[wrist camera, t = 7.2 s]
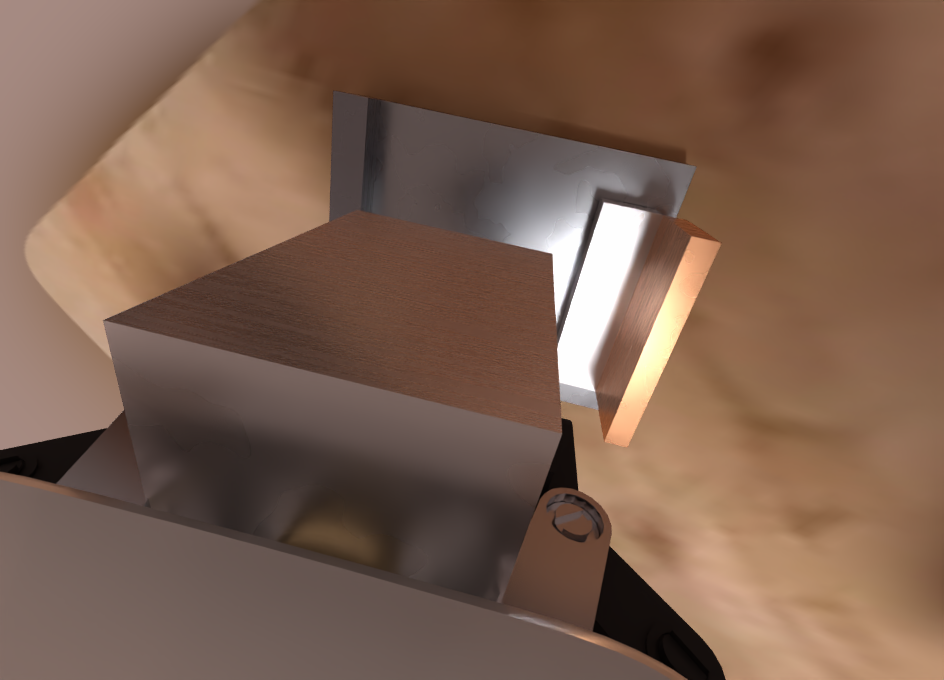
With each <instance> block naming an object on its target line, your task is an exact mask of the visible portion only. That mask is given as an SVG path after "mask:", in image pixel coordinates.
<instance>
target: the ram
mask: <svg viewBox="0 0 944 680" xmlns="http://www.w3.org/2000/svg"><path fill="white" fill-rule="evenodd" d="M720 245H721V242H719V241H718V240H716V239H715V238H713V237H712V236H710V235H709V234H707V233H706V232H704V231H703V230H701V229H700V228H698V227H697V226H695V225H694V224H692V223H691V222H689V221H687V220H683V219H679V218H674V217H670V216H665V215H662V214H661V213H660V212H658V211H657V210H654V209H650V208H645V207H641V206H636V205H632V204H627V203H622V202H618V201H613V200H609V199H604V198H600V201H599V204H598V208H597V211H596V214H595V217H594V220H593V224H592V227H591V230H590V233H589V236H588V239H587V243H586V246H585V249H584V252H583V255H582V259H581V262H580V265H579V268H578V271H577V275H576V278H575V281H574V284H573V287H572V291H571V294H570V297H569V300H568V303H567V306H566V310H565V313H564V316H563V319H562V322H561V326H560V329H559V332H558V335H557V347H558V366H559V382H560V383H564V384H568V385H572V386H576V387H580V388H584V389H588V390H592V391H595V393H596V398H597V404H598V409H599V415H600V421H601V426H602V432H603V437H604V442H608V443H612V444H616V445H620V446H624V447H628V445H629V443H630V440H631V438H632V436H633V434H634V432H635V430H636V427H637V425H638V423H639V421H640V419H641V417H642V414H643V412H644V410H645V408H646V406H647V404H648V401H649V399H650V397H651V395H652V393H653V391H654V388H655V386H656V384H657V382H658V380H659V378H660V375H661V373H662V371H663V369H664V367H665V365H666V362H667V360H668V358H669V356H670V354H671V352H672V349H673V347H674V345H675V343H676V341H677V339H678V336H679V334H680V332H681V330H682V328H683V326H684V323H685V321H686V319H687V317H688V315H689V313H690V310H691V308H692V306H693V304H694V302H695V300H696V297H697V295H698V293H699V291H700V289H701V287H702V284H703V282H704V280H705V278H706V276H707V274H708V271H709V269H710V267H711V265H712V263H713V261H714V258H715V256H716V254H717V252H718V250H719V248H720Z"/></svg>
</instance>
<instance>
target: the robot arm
mask: <svg viewBox="0 0 944 680" xmlns="http://www.w3.org/2000/svg"><path fill="white" fill-rule="evenodd" d="M561 422H562V436H561V438H560V441H559V444H558V447H557V449H556V452H555V455H554V458H553V460H552V463H551V466H550V469H549V471H548V474H547V477H546V480H545V482H544V485H543V488H542V491H541V494H540V496H539V499H538V502H537V505H536V507H535V510H534V513H533V516H532V518H531V521H530V524H529V527H528V529H527V532H526V535H525V538H524V540H523V543H522V546H521V549H520V551H519V554H518V557H517V560H516V562H515V565H514V568H513V571H512V573H511V576H510V579H509V582H508V584H507V587H506V590H505V593H504V594H502V593H500V595H499V597H498V599H497V602H495V601H492V600H488V599H485V598H481V597H478V596H474V595H470V594H467V593H463V592H460V591H456V590H452V589H449V588H445V587H441V586H438V585H434V584H431V583H427V582H423V581H420V580H416V579H412V578H409V577H405V576H402V575H398V574H394V573H391V572H387V571H383V570H380V569H376V568H373V567H369V566H365V565H362V564H358V563H354V562H351V561H347V560H343V559H340V558H336V557H332V556H328V555H325V554H321V553H317V552H314V551H310V550H306V549H303V548H299V547H295V546H291V545H288V544H284V543H280V542H277V541H273V540H269V539H265V538H262V537H258V536H254V535H251V534H247V533H243V532H239V531H236V530H232V529H228V528H224V527H221V526H217V525H213V524H209V523H206V522H202V521H198V520H194V519H190V518H187V517H183V516H179V515H175V514H172V513H168V512H164V511H160V510H156V509H153V508H151V506H150V502H149V498H146V497H145V494H144V490H143V486H142V482H141V477H140V473H139V469H138V465H137V461H136V456H135V452H134V448H133V444H132V440H131V435H130V431H129V427H128V423H127V419H126V415H125V410H124V411H123V412H122V413H121V414H120V415H119V416H118V417H117V418H116V419H115V420H114V421H113V422H112V424H111V425H110V426H109V427H108V428H106V429H101V430H96V431H91V432H86V433H81V434H76V435H72V436H67V437H62V438H57V439H52V440H47V441H43V442H38V443H33V444H28V445H23V446H19V447H14V448H9V449H4V450H0V680H726V679H725V676H724V673H723V670H722V667H721V665H720V663H719V662H718V660H717V658H716V656H715V655H714V653H713V651H712V650H711V649H710V648H709V646H708V645H707V644H706V643H705V642H704V640H703V639H702V638H701V637H700V636H699V635H698V634H697V633H696V632H695V631H694V630H693V629H692V628H691V627H690V626H689V625H688V624H687V623H686V622H685V621H684V620H683V619H682V618H681V617H680V616H679V615H678V614H677V613H676V612H675V611H674V610H673V609H672V608H671V607H670V606H669V605H668V604H667V603H666V602H665V601H664V600H663V599H662V598H661V597H660V596H659V595H658V594H657V593H656V592H655V591H654V590H653V589H652V588H651V587H650V586H649V585H648V584H647V583H646V582H645V581H644V580H643V579H642V578H641V577H640V576H639V575H638V574H637V573H636V572H635V571H634V570H633V569H632V568H631V567H630V566H629V565H628V564H627V563H626V562H625V561H624V560H623V559H622V558H621V557H620V556H619V555H618V554H617V553H616V552H615V551H614V550H613V549H612V548H611V547H610V546H609V545H610V540H611V535H612V529H611V523H610V520H609V517H608V515H607V514H606V512H605V511H604V509H603V508H602V507H601V506H600V505H599V504H598V503H597V502H596V501H595V500H594V499H593V498H591V497H589V496H588V495H586V494H584V493H583V492H580V491H578V481H577V470H576V459H575V448H574V437H573V426H572V422H571V421H570V420H567V419H563V418H561Z"/></svg>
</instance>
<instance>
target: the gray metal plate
mask: <svg viewBox="0 0 944 680" xmlns="http://www.w3.org/2000/svg"><path fill="white" fill-rule="evenodd" d="M695 169H696V166H692V165H688V164H683V163H679V162H674V161H669V160H664V159H660V158H655V157H650V156H645V155H641V154H636V153H631V152H626V151H622V150H617V149H612V148H608V147H603V146H598V145H593V144H589V143H584V142H579V141H574V140H570V139H565V138H560V137H555V136H551V135H546V134H541V133H536V132H532V131H527V130H522V129H518V128H513V127H508V126H503V125H499V124H494V123H489V122H484V121H480V120H475V119H470V118H465V117H461V116H456V115H451V114H446V113H442V112H437V111H432V110H428V109H423V108H418V107H413V106H409V105H404V104H399V103H394V102H390V101H385V100H380V99H375V98H371V97H366V96H361V95H356V94H350V93H345V92H339V91H333V121H332V154H331V186H330V218H329V222H330V221H332V220H335V219H337V218H339V217H342V216H344V215H346V214H349V213H351V212H353V211H355V210H361V211H365V212H369V213H374V214H378V215H383V216H387V217H392V218H396V219H401V220H405V221H409V222H414V223H418V224H423V225H427V226H432V227H436V228H440V229H445V230H449V231H454V232H458V233H463V234H467V235H472V236H476V237H480V238H485V239H489V240H494V241H498V242H503V243H507V244H511V245H516V246H520V247H525V248H529V249H534V250H538V251H542V252H547V253H551V254H552V255H553V273H554V292H555V310H556V329H557V335H558V332H559V329H560V326H561V322H562V319H563V316H564V313H565V310H566V306H567V303H568V300H569V297H570V294H571V291H572V287H573V284H574V281H575V278H576V275H577V271H578V268H579V265H580V262H581V259H582V255H583V252H584V249H585V246H586V243H587V239H588V236H589V233H590V230H591V227H592V224H593V220H594V217H595V214H596V211H597V208H598V204H599V201H600V198H604V199H609V200H613V201H618V202H622V203H627V204H632V205H636V206H641V207H645V208H650V209H654V210H657V211H658V212H660V213H661V214H662V215H665V216H670V217H674V218H676V217H677V214H678V212H679V209H680V207H681V204H682V202H683V199H684V197H685V194H686V192H687V189H688V187H689V184H690V182H691V179H692V177H693V174H694V172H695ZM559 385H560V401H564V402H568V403H572V404H576V405H581V406H585V407H589V408H593V409H597V410H599V409H598V404H597V398H596V393H595V391H592V390H588V389H584V388H580V387H576V386H572V385H568V384H564V383H560V382H559Z"/></svg>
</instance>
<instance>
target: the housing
mask: <svg viewBox="0 0 944 680" xmlns="http://www.w3.org/2000/svg"><path fill="white" fill-rule="evenodd" d="M103 322H104V327H105V331H106V335H107V339H108V343H109V347H110V352H111V356H112V360H113V364H114V368H115V373H116V376H117V381H118V385H119V389H120V394H121V398H122V402H123V406H124V410H125V415H126V419H127V423H128V427H129V431H130V435H131V440H132V444H133V448H134V452H135V456H136V461H137V465H138V469H139V473H140V477H141V482H142V486H143V490H144V494H145V497H146V498H149V502H150V506H151V508H153V509H156V510H160V511H164V512H168V513H172V514H175V515H179V516H183V517H187V518H190V519H194V520H198V521H202V522H206V523H209V524H213V525H217V526H221V527H224V528H228V529H232V530H236V531H239V532H243V533H247V534H251V535H254V536H258V537H262V538H265V539H269V540H273V541H277V542H280V543H284V544H288V545H291V546H295V547H299V548H303V549H306V550H310V551H314V552H317V553H321V554H325V555H328V556H332V557H336V558H340V559H343V560H347V561H351V562H354V563H358V564H362V565H365V566H369V567H373V568H376V569H380V570H383V571H387V572H391V573H394V574H398V575H402V576H405V577H409V578H412V579H416V580H420V581H423V582H427V583H431V584H434V585H438V586H441V587H445V588H449V589H452V590H456V591H460V592H463V593H467V594H470V595H474V596H478V597H481V598H485V599H488V600H492V601H495V602H497V599H498V597H499V595H500V593H502V594H504V593H505V590H506V587H507V584H508V582H509V579H510V576H511V573H512V571H513V568H514V565H515V562H516V560H517V557H518V554H519V551H520V549H521V546H522V543H523V540H524V538H525V535H526V532H527V529H528V527H529V524H530V521H531V518H532V516H533V513H534V510H535V507H536V505H537V502H538V499H539V496H540V494H541V491H542V488H543V485H544V482H545V480H546V477H547V474H548V471H549V469H550V466H551V463H552V460H553V458H554V455H555V452H556V449H557V447H558V444H559V441H560V438H561V436H562V422H561V403H560V385H559V366H558V347H557V329H556V310H555V292H554V273H553V255H552V254H551V253H547V252H542V251H538V250H534V249H529V248H525V247H520V246H516V245H511V244H507V243H503V242H498V241H494V240H489V239H485V238H480V237H476V236H472V235H467V234H463V233H458V232H454V231H449V230H445V229H440V228H436V227H432V226H427V225H423V224H418V223H414V222H409V221H405V220H401V219H396V218H392V217H387V216H383V215H378V214H374V213H369V212H365V211H361V210H355V211H353V212H351V213H349V214H346V215H344V216H342V217H339V218H337V219H335V220H332V221H330V222H328V223H326V224H323V225H321V226H319V227H316V228H314V229H312V230H309V231H307V232H305V233H303V234H300V235H298V236H296V237H293V238H291V239H289V240H286V241H284V242H282V243H280V244H277V245H275V246H273V247H270V248H268V249H266V250H263V251H261V252H259V253H257V254H254V255H252V256H250V257H247V258H245V259H243V260H240V261H238V262H236V263H234V264H231V265H229V266H227V267H224V268H222V269H220V270H217V271H215V272H213V273H211V274H208V275H206V276H204V277H201V278H199V279H197V280H194V281H192V282H190V283H188V284H185V285H183V286H181V287H178V288H176V289H174V290H171V291H169V292H167V293H165V294H162V295H160V296H158V297H155V298H153V299H151V300H148V301H146V302H144V303H142V304H139V305H137V306H135V307H132V308H130V309H128V310H125V311H123V312H121V313H119V314H116V315H114V316H112V317H109V318H107V319H105V320H103Z"/></svg>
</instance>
